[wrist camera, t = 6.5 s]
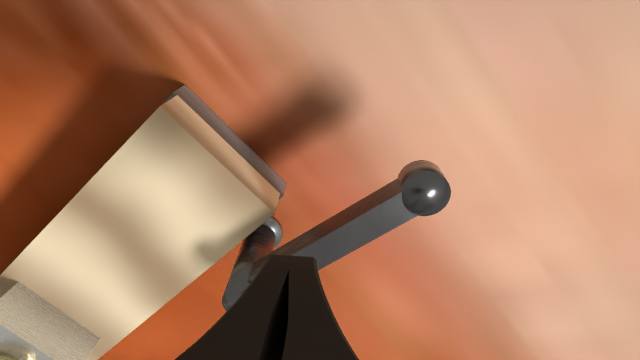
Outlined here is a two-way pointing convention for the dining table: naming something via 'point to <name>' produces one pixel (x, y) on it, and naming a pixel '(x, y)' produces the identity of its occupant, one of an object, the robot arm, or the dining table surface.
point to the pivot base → (274, 229)
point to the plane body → (149, 221)
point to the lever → (346, 225)
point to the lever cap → (40, 329)
